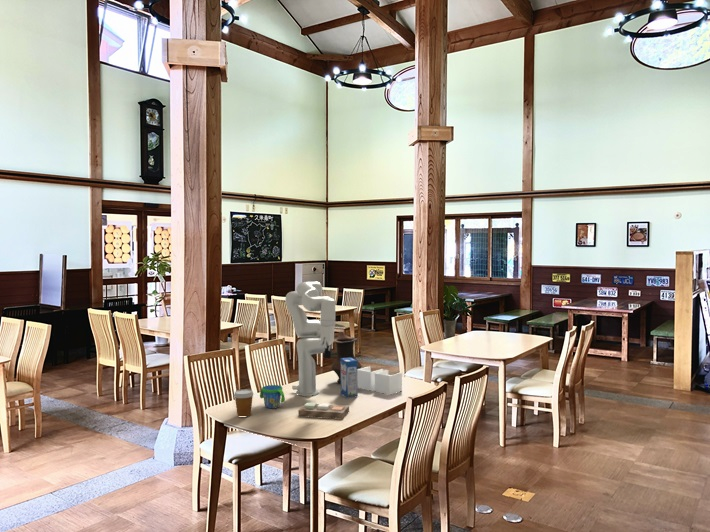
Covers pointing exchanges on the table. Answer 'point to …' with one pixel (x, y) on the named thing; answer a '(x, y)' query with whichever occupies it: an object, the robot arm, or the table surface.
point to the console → (324, 412)
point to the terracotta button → (337, 408)
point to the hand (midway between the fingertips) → (327, 357)
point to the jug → (343, 352)
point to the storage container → (379, 380)
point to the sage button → (310, 405)
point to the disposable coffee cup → (243, 402)
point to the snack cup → (272, 395)
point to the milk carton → (349, 377)
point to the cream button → (323, 406)
